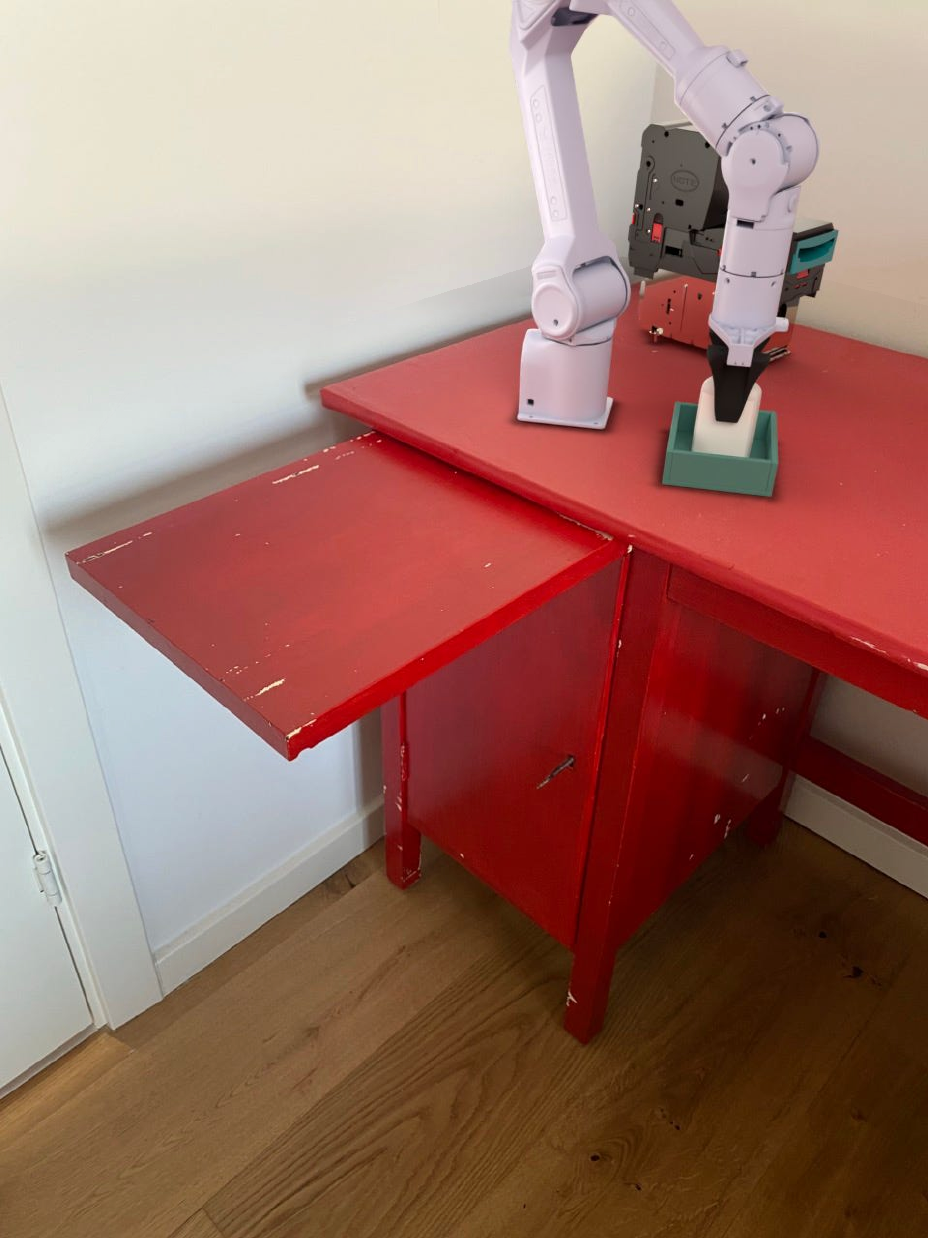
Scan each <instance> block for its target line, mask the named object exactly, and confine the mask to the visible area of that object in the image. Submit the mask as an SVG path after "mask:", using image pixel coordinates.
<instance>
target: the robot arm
mask: <svg viewBox="0 0 928 1238" xmlns="http://www.w3.org/2000/svg"><path fill="white" fill-rule="evenodd" d="M511 7H512V8H511V19H510V29H509V40H508V42H509V43H508V44H509V54H510V60H511V66H512V70H513V71H512V72H513V76H514V77H513V78H514V83H515V86H516V93H517V98H518V104H519V108H520V114H521V119H522V120H521V121H522V124H523V125H522V126H523V131H524V136H525V142H526V147H527V152H528V157H529V162H530V168H531V174H532V178H533V179H532V180H533V184H534V190H535V195H536V200H537V206H538V211H539V217H540V222H541V227H542V233H543V239H544V244H543V246H542V248H541V250H540V251H539V253H538V254H537V256H536V258H535V260H534V262H533V264H532V266H531V269H530V270H531V276H532V284H533V285H532V287H533V289H532V292H531V294H532V295H531V299H530V307H531V308H530V309H531V314H532V317H533V320H534V323H535V324H536V326H537V328H528V329H527V330H526V332H525V335H524V339H523V341H522V349H521V350H522V351H521V357H520V373H519V374H520V375H519V399H518V414H517V420H518V421H520V422H530V423H538V424H547V425H548V424H549V425H557V426H567V427H575V428H585V429H593V430H594V429H595V430H604V429H605V428H606V426H607V422H608V420H609V416H610V413H611V410H612V407H613V403H614V399H613V398H612V397H610V396H608V391H609V382H610V370H611V361H612V352H613V351H612V350H613V342H614V331H615V330H616V329H617V322H618V319H619V317H621V316H622V315H623V314H624V313H625V312H626V310H627V309H628V307H629V305H630V302H631V296H632V288H631V282H630V278H629V276H628V273H627V272H626V270H625V269H624V267H623V266H622V264H621V262H620V259H619V254H618V249H617V248H618V247H617V245H616V243H614V242H613V240H611V239H610V238H609V237H608V236H607V235H606V234H605V233H603V232H602V231H601V229H600V227H599V219H598V213H597V209H596V208H597V207H596V201H595V196H594V190H593V184H592V178H591V177H592V176H591V171H590V166H589V159H588V153H587V147H586V140H585V135H584V128H583V122H582V117H581V110H580V104H579V98H578V92H577V87H576V80H575V73H574V67H573V61H572V54H573V52H574V51H575V49H576V47H577V45H578V43H579V42H580V40H581V38H582V37H583V35H584V33H585V31H586V30H587V29H588V28H589V27H590V26H591V25H592V24H593V23H594V22H595V21H596V20H597V19H598V18H599V17H600V16H601V15H602V16H609V17H612V18H614V19H615V20H616V21H617V22H618V23H619V24H620V25H621V26H622V27H623V28H624V30H626V32H627V33H629V35H631V36H632V38H633V39H634V40H636V42H637V43H639V44H640V46H641V47H642V48H643V49H644V50H645V51H646V52H647V53H648V54H649V55H650V56H651V57H652V58H653V59H654V60H655V61H657V63H658V64H659V65H660V67H662V68H663V69H664V71H666V72H667V73H668V74H669V75H670V77H672V79H673V80H674V87H673V102H674V104H675V106H677V108H678V109H679V110H680V111H681V112H682V113H683V114H684V116H685V118H686V119H687V118H688V119H689V120H690V121H691V123H692V124H693V125H694V126H695V127H696V128H697V130H698V131H699V132H700V133H701V134H702V135H703V137H704V138H705V139H706V140H707V141H708V142H709V144H710V145H711V146H712V147H713V148H714V149H715V151H716V152H717V153H718V154H719V155H720V156H721V157H722V161H721V167H722V174H723V178H724V181H725V183H726V185H727V187H728V190H729V203H728V213H727V220H726V226H725V233H724V239H723V246H722V252H721V259H720V266H719V271H718V277H717V284H716V291H715V297H714V304H713V310H712V313H711V314H710V315H709V321H708V324H709V326H710V327H711V328H710V331H709V336H710V339H711V342H712V345H708V347H707V349H706V358H707V362H708V366H709V367H710V370H711V374H712V376H713V381H714V411H715V419H716V421H720V422H729V423H738V421H739V419H740V417H741V415H742V413H743V410H744V408H745V405H746V402H747V400H748V397H749V395H750V392H751V390H752V388H753V386H754V384H755V383H756V382H757V381H758V380H759V378H760V376H761V375H762V373H763V372H764V371H765V370H766V369H767V368H768V365H769V364H770V363H771V362H770V354H768V353H761V352H762V350H763V349H764V347H765V346H766V344H767V343H768V342H769V340H770V337H771V336H770V335H771V334H773V333H774V332H786V331H787V330H788V326H789V320H788V319H786V318H780V317H777V312H778V306H779V301H780V296H781V291H782V285H783V280H784V275H785V270H786V265H787V260H788V255H789V250H790V244H791V239H792V234H793V229H794V224H795V218H796V216H797V211H798V206H799V200H800V196H801V192H802V191H801V190H802V185H800V184H801V183H804V182H805V180H807V179H808V178H809V177H810V176H811V174H812V173H813V172H814V170H815V168H816V166H817V164H818V161H819V157H820V152H821V151H820V148H821V147H820V139H819V136H818V133H817V131H816V129H815V127H814V126H813V124H812V122H811V119H810V117H808V116H807V115H806V114H803V113H800V112H797V111H784V110H783V108H784V107H785V102H784V101H783V100H782V98H781V97H780V96H779V95H773V96H772V95H771V94H770V93H769V92H768V91H767V89H766V88H765V87H764V85H762V84H761V83H760V81H759V80H758V79H757V78H756V77H755V76H754V75H753V73H752V72H751V71H750V70H749V69H748V68H747V66H746V65H747V64H748V63H749V61H750V58H749V57H748V56H747V54H746V53H745V52H744V51H743V50H742V49H741V48H739V49H731V48H730V47H729V46H728V45H725V44H718V45H712V46H707V45H706V44H705V43H704V41H703V40H702V39H701V37H700V36H699V35H698V33H697V32H696V30H695V29H694V28H693V27H692V25H690V23H689V21H688V20H687V19H686V17H685V16H684V15H683V14H682V13H681V11H680V9H678V7H677V5H676V4H675V3H674V2H673V0H511ZM578 266H579V267H578Z"/></svg>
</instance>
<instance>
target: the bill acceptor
mask: <svg viewBox="0 0 928 1238" xmlns="http://www.w3.org/2000/svg"><path fill="white" fill-rule="evenodd" d="M640 147H641V151H640V152H641V153H640V160H639V168H638V170H637V173H636V182H635V191H634V199H633V206H632V213H633V214H631V215H632V216H631V217H632V219H631V223H630V224H629V225H628V233H627V234H628V236H627V241H628V253H627V255H628V256H627V257H628V265H629V267H630V268H633V275H634V276H638V277H641V278H644V280H642V281H641V282H640V289H639V299H638V305H637V315H636V316H637V317H638V318H639V321H638V323H639V328H640V329H644V330H647V331H649V334H650V335H654V336H653V337H654V338H653V342H655V343H657V342H658V337H660V336H661V337H664V338H668V339H672V340H674V341H677V342H680V343H684V344H687V345H693V346H695V347H698V348H701V349H703V350H707V347H708V345H712V342H711V339H710V336H709V331H710V328H711V327H710V326H709V324H708V321H709V315H710V314H711V313H712V310H713V304H714V297H715V291H716V284H717V277H718V271H719V266H720V259H721V252H722V246H723V239H724V233H725V226H726V220H727V213H728V203H729V190H728V187H727V185H726V183H725V181H724V178H723V174H722V167H721V161H722V157H721V156H720V155H719V154H718V153H717V152H716V151H715V149H714V148H713V147H712V146H711V145H710V144H709V142H708V141H707V140H706V139H705V138H704V137H703V135H702V134H701V133H700V132H699V131H698V130H697V128H696V127H695V126H694V125H693V124H692V123H691V121H690V120H689V119H688V118H687V117H686V118H680V119H675V120H667V121H661V122H655V123H650V124H649V125H648V126H647V127H646V128H645V129H643V132H642V134H641V141H640ZM839 231H840V230H839V229H836V228H835V227H834V223H833V222H831V221H827V220H821V219H816V218H811V217H806V216H801V215H796V218H795V224H794V229H793V234H792V239H791V244H790V250H789V255H788V260H787V265H786V270H785V275H784V280H783V285H782V291H781V296H780V301H779V306H778V312H777V317H780V318H786V319H788V320H789V326H788V330H787V331H786V332H774V333H773V334H771V335H770V336H771V337H770V340H769V342H768V343H767V344H766V346H765V347H764V349H763V350H762V352H761V353H768V354H770V362H769V363H771V362H773V361H775V360H778V359H780V358H782V357H784V356H787V355H789V354H791V351H790V350H788V349H787V348H788V346H789V344H790V343H791V340H792V339H793V338H792V337H793V333H794V328H795V323H796V319H797V314H798V309H799V306H800V305H799V304H800V301H801V298H802V297H809V298H815V299H816V297H817V292H818V291H821V290H820V288H821V285H822V279H823V277H824V270H825V267H826V264H827V263H830V262H832V261H833V257H834V253H835V249H836V245H837V240H838V236H839Z"/></svg>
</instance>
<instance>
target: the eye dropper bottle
mask: <svg viewBox="0 0 928 1238" xmlns="http://www.w3.org/2000/svg"><path fill="white" fill-rule="evenodd" d="M762 395H763V393H762V388H761V386H760V385H759V384H758V383H756V382H755V384H754V386H753V388H752V390H751V392H750V395H749V397H748V400H747V402H746V405H745V408H744V410H743V413H742V415H741V417H740V419H739V421H738V423H729V422H720V421H716V419H715V411H714V381H713V375H712V376H709V377H707V378H706V380H704V381H703V382H702V384H701V388H700V392H699V398H698V403H697V404H698V410H697V416H696V422H695V428H694V435H693V441H692V448H691V451H692V452H701V453H710V454H719V455H729V456H738V457H747V458H749V457H750V453H751V448H752V443H753V438H754V433H755V427H756V422H757V417H758V412H759V410H760V407H761V406H760V405H761V401H762Z"/></svg>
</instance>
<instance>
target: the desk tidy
mask: <svg viewBox="0 0 928 1238" xmlns="http://www.w3.org/2000/svg"><path fill="white" fill-rule="evenodd" d="M697 410H698V403H695V402H683V401H675V402H674V407H673V411H672V412H673V413H672V419H671V424H670V429H669V436H668V440H667V447H666V451H665V452H666V453H665V459H664V466H663V474H662V481H661V482H662V483H661V485H665V486H672V487H673V486H674V487H682V488H690V489H700V490H708V491H715V492H716V491H717V492H725V493H732V494H733V493H734V494H735V493H736V494H742V495H751V496H758V497H759V496H761V497H767V498H772V496H773V490H774V486H775V481H776V478H777V474H778V473H777V472H778V468H779V442H778V441H779V439H778V438H779V437H778V416H777V415H778V414H777V413H778V412H777V411H773V410H763V409H759V412H758V417H757V422H756V427H755V433H754V438H753V443H752V448H751V453H750V457H749V458H747V457H738V456H729V455H719V454H710V453H701V452H692V451H691V448H692V441H693V435H694V428H695V422H696V416H697Z"/></svg>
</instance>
